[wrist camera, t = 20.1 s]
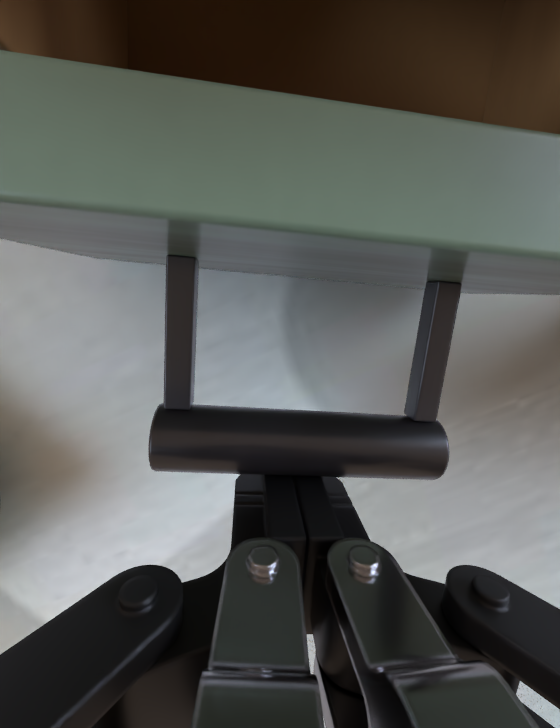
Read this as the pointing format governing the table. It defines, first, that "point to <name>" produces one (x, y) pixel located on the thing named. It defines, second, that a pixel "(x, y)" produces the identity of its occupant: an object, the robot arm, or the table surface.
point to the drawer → (290, 179)
